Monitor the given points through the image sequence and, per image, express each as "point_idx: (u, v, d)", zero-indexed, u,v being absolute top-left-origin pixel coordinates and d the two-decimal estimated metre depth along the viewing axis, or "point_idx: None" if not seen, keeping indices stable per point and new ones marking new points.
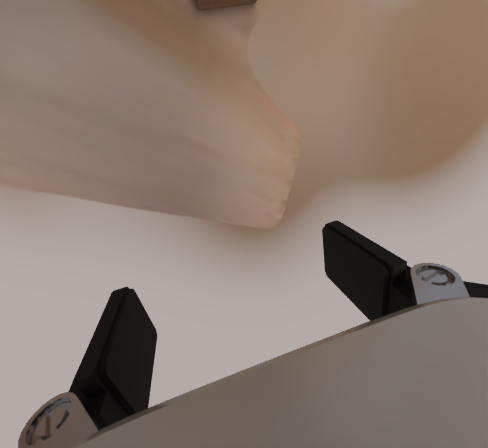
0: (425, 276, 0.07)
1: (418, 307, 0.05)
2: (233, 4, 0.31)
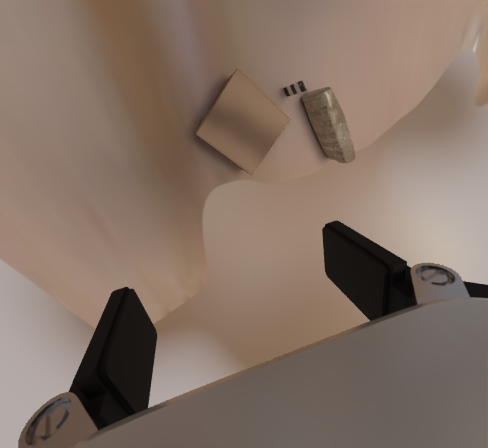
0: (425, 276, 0.07)
1: (418, 307, 0.05)
2: None
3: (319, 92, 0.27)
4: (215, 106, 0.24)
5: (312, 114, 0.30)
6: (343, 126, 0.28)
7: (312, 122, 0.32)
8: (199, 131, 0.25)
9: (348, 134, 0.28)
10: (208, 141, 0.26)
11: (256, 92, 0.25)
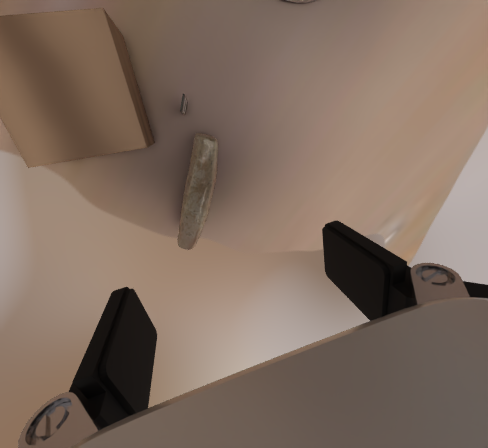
0: (425, 276, 0.07)
1: (418, 307, 0.05)
2: None
3: (202, 135, 0.18)
4: (21, 17, 0.13)
5: (191, 159, 0.21)
6: (201, 199, 0.19)
7: None
8: None
9: (200, 214, 0.19)
10: None
11: (113, 68, 0.15)
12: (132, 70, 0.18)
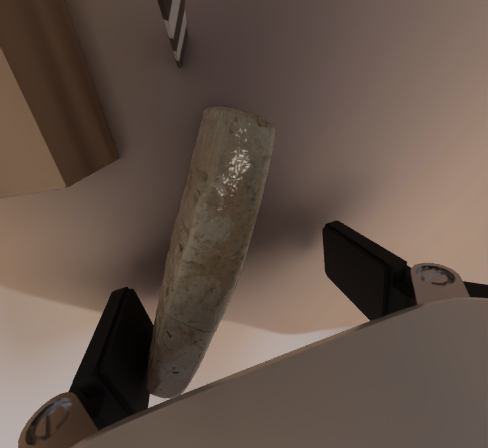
0: (425, 276, 0.07)
1: (418, 307, 0.05)
2: None
3: None
4: None
5: (189, 172, 0.09)
6: (212, 294, 0.07)
7: None
8: None
9: (208, 328, 0.07)
10: None
11: None
12: None
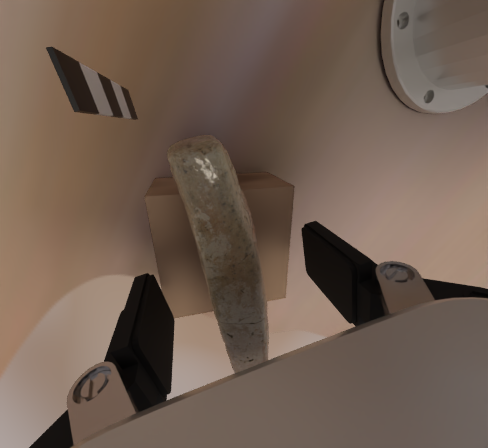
0: (388, 275, 0.07)
1: (418, 307, 0.05)
2: None
3: (179, 147, 0.06)
4: None
5: None
6: (244, 294, 0.08)
7: None
8: (154, 198, 0.11)
9: (257, 319, 0.08)
10: (152, 224, 0.12)
11: (283, 234, 0.14)
12: None
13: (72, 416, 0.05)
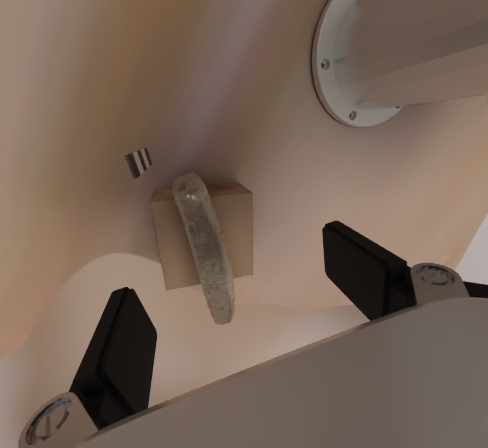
0: (425, 276, 0.07)
1: (418, 307, 0.05)
2: None
3: (179, 189, 0.12)
4: None
5: None
6: (215, 266, 0.14)
7: None
8: (156, 203, 0.17)
9: (223, 281, 0.14)
10: (155, 220, 0.17)
11: (247, 226, 0.20)
12: None
13: None
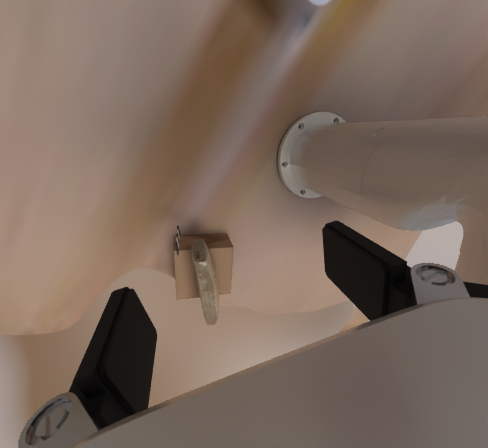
0: (425, 276, 0.07)
1: (418, 307, 0.05)
2: None
3: (196, 257, 0.26)
4: None
5: None
6: (210, 294, 0.27)
7: None
8: None
9: (213, 302, 0.27)
10: (175, 260, 0.30)
11: (229, 265, 0.33)
12: None
13: None
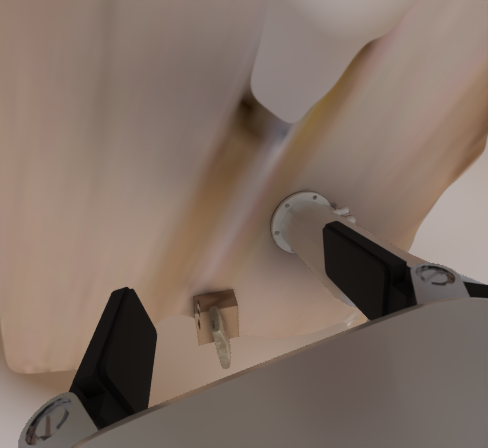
0: (425, 276, 0.07)
1: (418, 307, 0.05)
2: None
3: (212, 327, 0.37)
4: None
5: None
6: (223, 350, 0.38)
7: None
8: (197, 313, 0.41)
9: (226, 355, 0.38)
10: (196, 319, 0.41)
11: (235, 318, 0.43)
12: None
13: None
